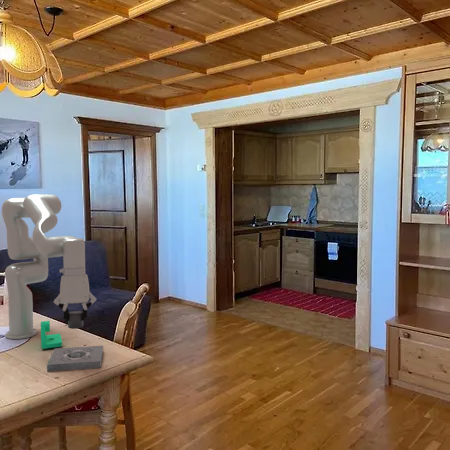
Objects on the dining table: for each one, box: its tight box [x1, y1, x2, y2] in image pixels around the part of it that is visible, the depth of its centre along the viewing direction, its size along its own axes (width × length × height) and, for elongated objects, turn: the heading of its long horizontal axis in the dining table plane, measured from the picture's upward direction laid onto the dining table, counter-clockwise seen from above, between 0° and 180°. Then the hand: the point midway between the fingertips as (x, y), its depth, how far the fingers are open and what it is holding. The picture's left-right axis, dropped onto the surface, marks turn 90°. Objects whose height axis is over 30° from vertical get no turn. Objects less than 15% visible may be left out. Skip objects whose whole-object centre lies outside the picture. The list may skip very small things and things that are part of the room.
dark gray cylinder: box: [67, 310, 84, 330], centre depth 164 cm, size 5×5×5 cm
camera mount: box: [40, 320, 63, 350], centre depth 181 cm, size 12×8×10 cm, turn 24°
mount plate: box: [46, 345, 104, 373], centre depth 164 cm, size 16×18×2 cm
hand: (75, 319), depth 163 cm, fingers closed on dark gray cylinder, 5 cm apart
